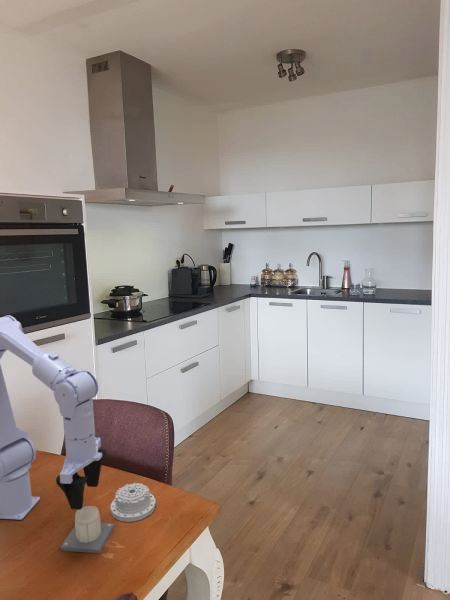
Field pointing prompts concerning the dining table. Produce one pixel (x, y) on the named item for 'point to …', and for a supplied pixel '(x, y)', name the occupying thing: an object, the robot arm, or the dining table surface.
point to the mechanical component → (132, 503)
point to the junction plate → (90, 547)
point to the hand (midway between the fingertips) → (85, 496)
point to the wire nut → (87, 524)
